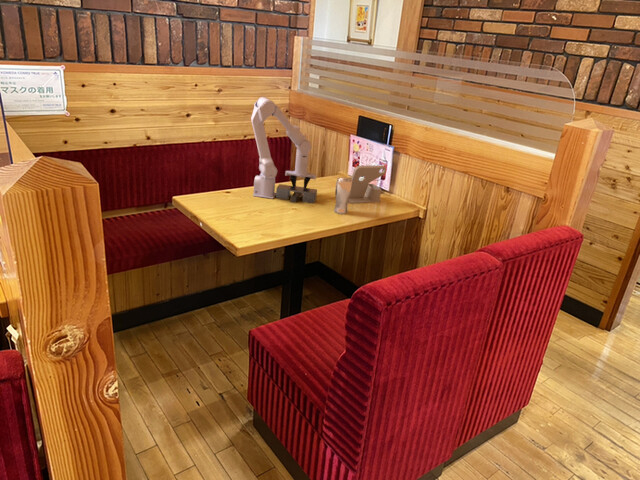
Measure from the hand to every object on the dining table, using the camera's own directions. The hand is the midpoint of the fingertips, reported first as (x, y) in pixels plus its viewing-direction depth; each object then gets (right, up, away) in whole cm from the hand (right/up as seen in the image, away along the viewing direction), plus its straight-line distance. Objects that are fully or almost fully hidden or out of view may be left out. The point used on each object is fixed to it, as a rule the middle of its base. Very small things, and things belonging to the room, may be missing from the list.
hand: (299, 191), depth 237 cm
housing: (-1, -4, -6) cm, 7 cm away
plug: (-1, -3, -5) cm, 6 cm away
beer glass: (+19, -11, -16) cm, 27 cm away
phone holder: (+30, -4, +3) cm, 30 cm away
